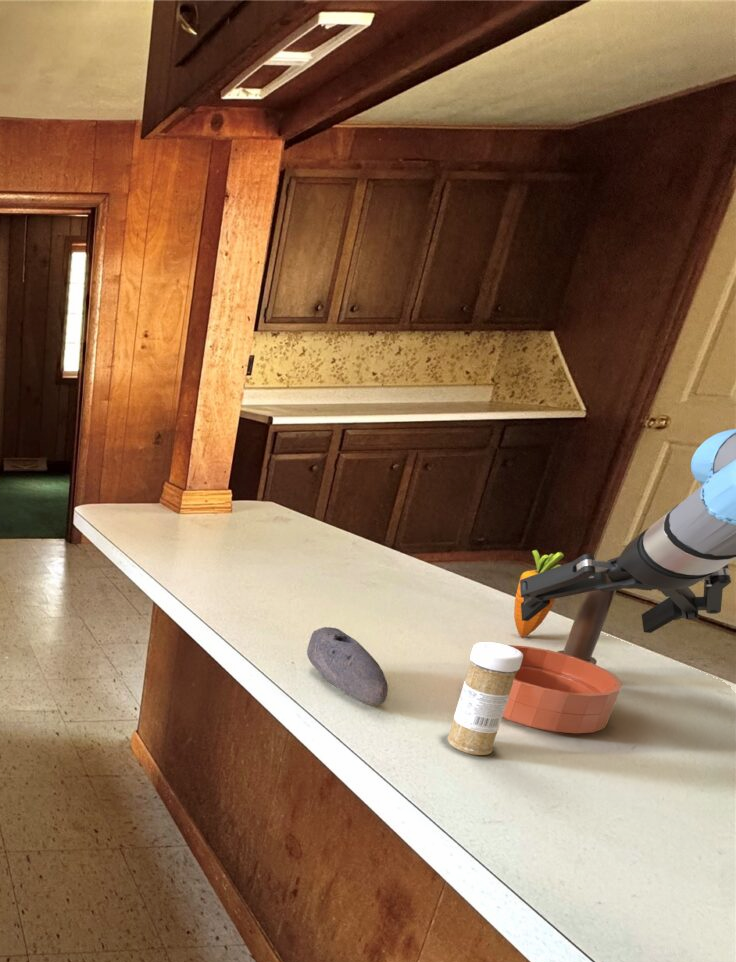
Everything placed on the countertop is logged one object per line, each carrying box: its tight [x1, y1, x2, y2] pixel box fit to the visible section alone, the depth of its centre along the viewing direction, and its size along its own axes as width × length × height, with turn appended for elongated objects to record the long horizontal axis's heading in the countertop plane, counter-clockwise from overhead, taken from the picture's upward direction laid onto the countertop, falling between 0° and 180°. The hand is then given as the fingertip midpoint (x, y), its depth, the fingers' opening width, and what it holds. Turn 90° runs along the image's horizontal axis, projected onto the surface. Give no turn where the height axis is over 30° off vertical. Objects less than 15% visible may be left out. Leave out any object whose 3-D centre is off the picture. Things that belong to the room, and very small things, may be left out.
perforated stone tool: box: [306, 626, 389, 707], centre depth 94 cm, size 15×5×7 cm, turn 1°
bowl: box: [502, 644, 623, 734], centre depth 88 cm, size 14×14×6 cm
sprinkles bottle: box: [446, 641, 523, 756], centre depth 79 cm, size 5×5×13 cm
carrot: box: [513, 549, 565, 638], centre depth 106 cm, size 5×5×15 cm
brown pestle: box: [556, 574, 617, 665], centre depth 94 cm, size 4×4×16 cm
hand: (583, 618), depth 95 cm, fingers open, 13 cm apart
